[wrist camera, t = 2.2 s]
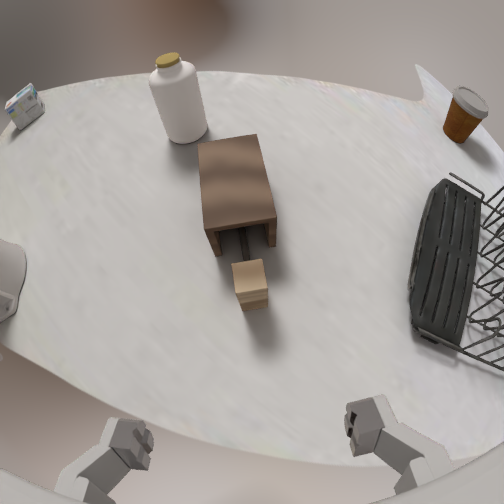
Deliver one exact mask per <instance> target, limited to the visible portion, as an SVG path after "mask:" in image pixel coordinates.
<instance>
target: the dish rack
mask: <svg viewBox="0 0 504 504" xmlns="http://www.w3.org/2000/svg"><path fill="white" fill-rule="evenodd" d="M449 174H450V175H451V176H453V177H454V178H456V179H458V180H460V181H461V182H463V183H464V184H466V185H468V186H469V187H471V188H473V189H474V190H476V191H477V192H479V193H481V194H482V197H481V199H480V198H478V197H477V196H475V195H473V194H471V193H470V192H468V191H466V190H465V189H463V188H461V187H460V186H458V185H457V184H455V183H453V182H452V181H450V180H448V179H442V180H441V181H440V182H439V183H438V184H437V185H436V186H435V187H434V188H433V189H432V190H431V191H430V193H429V196H428V199H427V202H426V205H425V208H424V211H423V215H422V218H421V222H420V226H419V230H418V234H417V238H416V243H415V248H414V252H413V258H412V263H411V269H410V274H409V280H408V290H409V289H410V288H411V289H412V292H411V299H410V309H411V312H412V318H413V319H412V322H411V324H413V330H414V331H415V332H417V333H419V334H420V335H421V337H422V338H424V339H426V340H428V341H430V342H432V343H434V344H439V343H441V344H443V345H445V346H447V347H450V348H452V349H454V350H456V351H458V352H460V353H463V354H465V355H467V356H469V357H472V358H474V359H476V360H479V361H481V362H483V363H486V364H488V365H490V366H493V367H495V368H497V369H500V370H502V371H504V367H500V366H498V365H496V364H493V363H494V362H497V361H500V360H502V359H504V356H503V357H501V358H499V359H496V360H493V361H491V362H489V361H486V360H484V359H482V358H480V356H483V355H485V354H488V353H490V352H493V351H495V350H498V349H500V348H502V347H504V344H503V345H501V346H499V347H497V348H494V349H491V350H489V351H486V352H484V353H482V354H480V355H477V356H475V355H473V354H471V353H468V352H466V351H464V350H465V349H467V348H470V347H472V346H475V345H477V344H480V343H482V342H484V341H487V340H489V339H491V338H494V337H495V336H496V335H497V337H504V335H502V334H500V333H499V331H500V329H504V325H502V326H501V319H500V318H498V317H496V316H498V315H499V314H501V313H502V312H504V309H503V310H501V311H500V312H498V313H497V314H495V315H494V316H492V317H490V318H489V319H482V320H475V319H473V318H471V316H472V315H473V314H474V313H475V312H477V311H478V310H480V309H482V308H483V307H485V306H486V305H488V304H490V303H491V302H492V301H494V300H495V299H499V300H501V301H502V302H503V304H504V297H503V299H501V298H499V297H500V296H501V295H502V294H503V293H504V287H503V290H502V292H499V293H495V294H493V293H492V291H493V289H494V288H495V287H497V286H498V285H499V284H500V283H502V282H503V281H504V277H502V278H499V279H497V280H494V281H492V282H489V283H486V284H484V285H481V286H480V285H478V283H479V281H480V280H481V279H482V278H483V277H484V276H486V275H487V274H488V273H489V272H491V271H492V270H493V269H494V268H495V267H496V266H498V267H499V268H501V269H502V270H504V268H502V267H501V266H499V264H500V263H503V262H504V257H503V258H502V259H501V260H500V261H499V262H498V263H495V261H496V259H497V257H498V256H499V255H501V254H502V253H503V252H504V249H503V250H502V251H501V252H500V253H499V254H498V255H497V256H496V257H495V258H494V261H492V260H490V259H489V258H487V257H486V255H488V254H490V253H492V252H494V251H496V250H498V249H500V248H501V247H503V246H504V243H503V244H501V245H500V246H498V247H496V248H494V249H492V250H491V251H489V252H487V253H485V254H482V252H483V250H484V249H485V248H486V247H487V246H488V245H489V244H490V243H491V242H492V241H493V240H494V239H495V238H499V239H500V240H502V241H503V242H504V240H503V239H501V238H500V237H501V236H502V235H504V232H503V233H501V234H500V235H499V233H500V232H501V231H502V230H503V229H504V223H503V224H502V225H501V226H500V227H499V228H498V229H497V231H496V234H494V233H493V232H491V231H490V230H488V229H487V228H488V227H489V226H491V225H493V224H494V223H495V222H496V221H498V220H499V219H501V218H502V217H504V213H503V214H502V213H501V211H502V210H504V207H502V208H501V209H500V210H499V211H498V210H497V208H498V207H499V206H500V205H501V203H502V202H503V201H504V197H503V199H502V200H501V201H500V202H499V204H498V205H497V206H496V208H493V207H492V206H490V205H489V204H488V203H489V202H490V201H491V200H492V199H494V198H495V197H496V196H497V195H498V194H499V193H500V192H501V191H502V190H503V189H504V186H503V187H502V188H501V189H500V190H499V191H498V192H497V193H496V194H495V195H493V196H492V197H491V198H490V199H489V200H488V201H487V202H484V201H483V199H484V197H485V195H484V193H483V192H482V191H480V190H479V189H477V188H476V187H474V186H472V185H471V184H469V183H468V182H466V181H464V180H463V179H461V178H459V177H458V176H456V175H455V174H453V173H449ZM446 188H447V189H446ZM445 190H446V198H445ZM455 197H456V202H455ZM444 199H445V202H444ZM465 200H466V201H465ZM481 203H483V204H484V205H487V206H488V207H490V208H491V209H493V211H492V212H491V214H490V215H489V216H488V217H487V218H486V220H485V221H484V222H483V225H480V216H481ZM444 204H445V206H444ZM454 204H455V208H454ZM464 205H465V212H464ZM443 206H444V212H443ZM454 210H455V211H454ZM453 212H454V219H453ZM494 212H496V213H497V214H500V216H499V217H498V218H496V219H495V220H494V221H493V222H491V223H490V224H488V225H487V226H486V227H484V225H485V223H486V222H487V220H488V219H489V218H490V217H491V216H492V214H493V213H494ZM442 213H443V219H442ZM473 213H474V220H473ZM463 216H464V221H463ZM441 219H442V225H441V229H440V224H441ZM452 220H453V227H452ZM462 225H463V231H462ZM472 225H473V230H472ZM480 226H481V227H482V228H483V229H484V230H487V231H488V232H490V233H491V234H493V235H494V237H493V238H492V239H491V240H490V241H489V242H488V243H487V244H486V245H485V246H484V247H483V248H482V250H481V252H478V251H477V250H478V241H479V230H480ZM451 227H452V233H451ZM439 230H440V237H438V236H439ZM450 233H451V235H450ZM461 233H462V238H461ZM471 234H472V240H471ZM450 237H451V240H450V244H449V239H450ZM460 240H461V241H460ZM460 243H461V246H460ZM470 243H471V247H470ZM459 247H460V250H459ZM436 248H437V252H436V257H435V259H434V255H435V251H436ZM469 251H470V256H469ZM416 253H417V254H416ZM477 253H478V254H479V255H480V257H484V258H486V259H487V260H489V261H490V262H492V263H493V264H494V266H493V267H492V268H491V269H490V270H488V271H487V272H486V273H485V274H484V275H482V276H481V277H480V278H479V279H478V280H477V283H475V282H473V280H474V273H475V266H476V258H477ZM447 255H448V256H447ZM446 257H447V262H446ZM415 258H416V259H415ZM457 260H458V265H457ZM433 261H434V266H433V271H432V275H431V279H430V283H429V287H428V291H427V294H425V292H426V288H427V285H428V281H429V277H430V273H431V269H432V265H433ZM445 262H446V266H445ZM414 264H415V265H414ZM456 265H457V270H456ZM467 266H468V269H467ZM444 267H445V272H444V277H443V281H442V276H443V271H444ZM466 271H467V276H466ZM455 273H456V275H455ZM454 276H455V281H454ZM465 279H466V281H465ZM441 281H442V286H441V290H440V285H441ZM453 281H454V286H453ZM496 282H498V283H497V284H496V285H494V286H493V287H492V288H491V290H490V291H488V290H486V289H485V288H483V287H485V286H487V285H491V284H494V283H496ZM464 283H465V287H464ZM473 284H475V285H476V288H477V289H479V288H481V289H483V290H484V291H486V292H488V293H489V294H490V296H491V297H493V296H494V298H493V299H491V300H490V301H488V302H487V303H485V304H484V305H482V306H481V307H479V308H478V309H476V310H475V311H473V312H472V313H471V314H470V316H467V312H468V307H469V302H470V297H471V291H472V286H473ZM452 286H453V290H452ZM463 288H464V292H463ZM439 290H440V295H439V299H438V300H437V297H438V293H439ZM451 291H452V295H451ZM462 293H463V297H462ZM450 295H451V299H450ZM496 295H497V296H496ZM424 296H426V298H425V302H424V306H423V309H422V312H421V315H420V316H419V313H420V310H421V307H422V303H423V299H424ZM461 299H462V301H461ZM449 300H450V304H449V306H448V303H449ZM436 302H438V303H437V307H436V311H435V314H434V318H433V321H432V322H431V320H432V316H433V312H434V309H435V305H436ZM460 303H461V307H460ZM459 307H460V311H459ZM447 308H449V309H448V313H447V317H446V321H445V324H444V327H443V323H444V320H445V316H446V312H447ZM458 313H459V316H458ZM457 316H458V320H457ZM466 317H467V318H469V323H478V324H480V325H481V326H483V329H484V330H491V331H493V332H494V333H493V334H492V335H491V336H489V337H486V338H484V339H481V340H479V341H477V342H475V343H473V344H471V345H469V346H467V347H464V348H461V347H460V346H459V344H460V341H461V337H462V333H463V329H464V325H465V321H466ZM494 317H496V318H494ZM471 320H472V321H471ZM494 320H498V322H499V327H491V328H489V327H488V326H486V323H487V322H492V321H494ZM456 321H457V325H456ZM480 322H484V324H482V323H480ZM455 325H456V328H455ZM454 329H455V332H454ZM496 329H497V330H496ZM495 330H496V331H495ZM448 341H449V342H448Z"/></svg>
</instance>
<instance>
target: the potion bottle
mask: <svg viewBox="0 0 504 504" xmlns="http://www.w3.org/2000/svg"><path fill="white" fill-rule="evenodd" d="M155 62H156V68H157V69H156V70H155V71H154V72H152V74H151V76H150V78H149V86H150V89H151V91H152V94H153V97H154V100H155V103H156V106H157V108H158V111H159V114H160V117H161V119H162V122H163V125H164V127H165V130H166V133H167V136H168V137H169V139H170V140H171V141H173V142H175V143H179V144H186V143H191V142H194V141H196V140H198V139H199V138H200V137H202V136H203V135H204V133H205V132H206V130H207V127H208V124H207V120H206V115H205V111H204V106H203V102H202V97H201V93H200V88H199V83H198V79H197V74H196V70H195V67H194V66H193V65H192V64H191V63H189V62H185V61H181V58H180V57H179V54H178V53H167V54H164V55H162V56H160V57H158V58H157V59H156V61H155Z"/></svg>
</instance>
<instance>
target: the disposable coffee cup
mask: <svg viewBox="0 0 504 504" xmlns="http://www.w3.org/2000/svg"><path fill="white" fill-rule="evenodd" d="M487 116H488V106H487V104H486V102H485V101H484V100H483V99H482V98H481V97H480V96H479V95H478V94H477V93H475V92H474V91H472V90H471V89H469V88H466V87H464V86H458V87H457V88H456V89H454V90H453V98H452V101H451V105H450V108H449V111H448V114H447V117H446V120H445V123H444V126H443V130H444V132H445V134H446V135H447V136H448V137H449V138H450V139H451V140H453V141H455V142H457V143H463V142H464V141H465V140H466V139H467V138H468V136H469V135H470V134H471V133H472V132H473V130H474V129H475V128H476V127H477V126H478V125H479V123H480V122H481V121H482V119H484V118H486V117H487Z"/></svg>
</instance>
